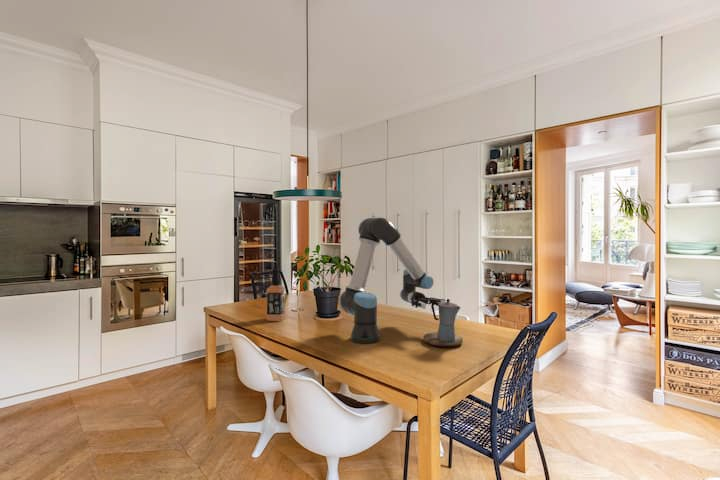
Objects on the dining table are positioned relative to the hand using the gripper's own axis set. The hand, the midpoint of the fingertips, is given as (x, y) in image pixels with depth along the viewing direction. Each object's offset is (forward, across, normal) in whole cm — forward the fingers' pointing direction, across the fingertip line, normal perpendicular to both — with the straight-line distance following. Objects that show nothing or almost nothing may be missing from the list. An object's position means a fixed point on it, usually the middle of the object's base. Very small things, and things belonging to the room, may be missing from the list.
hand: (436, 305), depth 193 cm
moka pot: (+10, +1, -15) cm, 18 cm away
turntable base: (+7, 0, -17) cm, 19 cm away
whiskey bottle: (-70, +73, -19) cm, 103 cm away
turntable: (+7, 0, -16) cm, 17 cm away
